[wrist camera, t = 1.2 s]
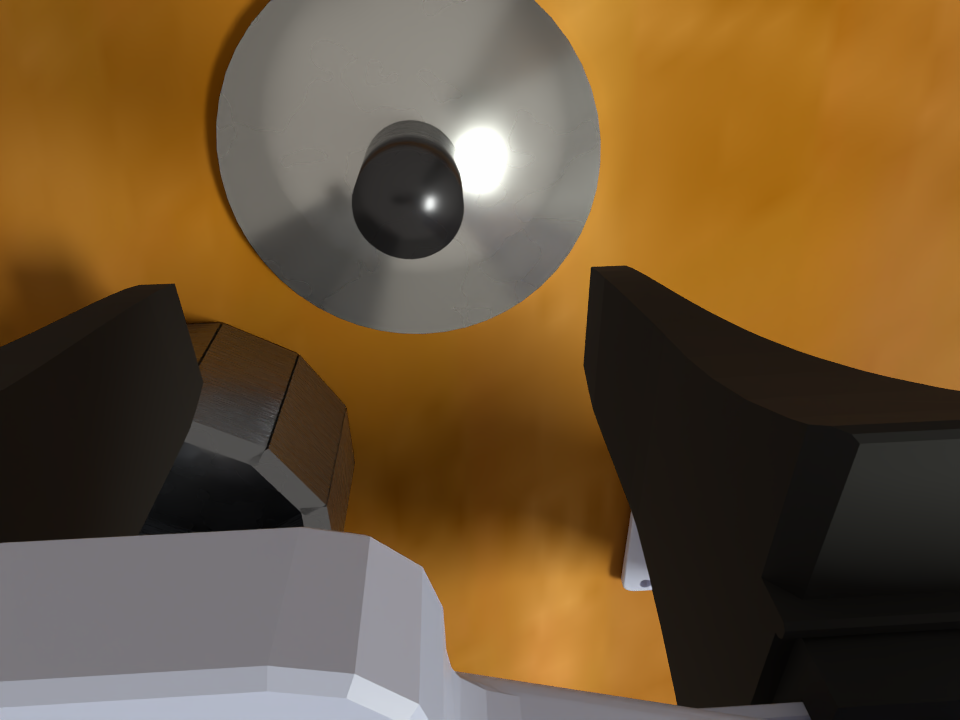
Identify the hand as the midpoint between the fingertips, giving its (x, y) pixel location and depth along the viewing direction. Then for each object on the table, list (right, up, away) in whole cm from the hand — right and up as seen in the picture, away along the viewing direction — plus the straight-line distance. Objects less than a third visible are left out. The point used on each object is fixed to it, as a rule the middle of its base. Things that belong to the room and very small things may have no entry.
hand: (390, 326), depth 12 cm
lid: (0, +5, +8) cm, 10 cm away
